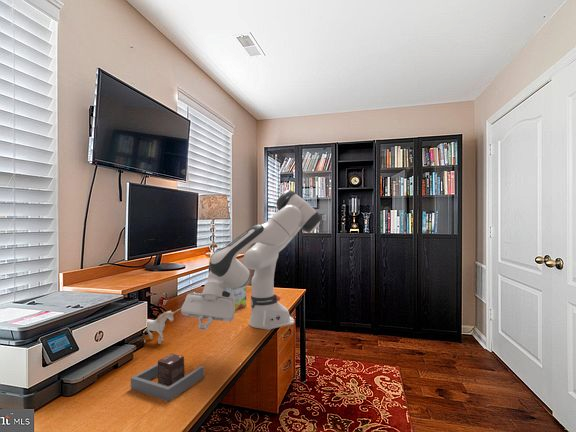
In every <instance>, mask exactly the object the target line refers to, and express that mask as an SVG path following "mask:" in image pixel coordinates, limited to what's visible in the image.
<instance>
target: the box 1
mask: <svg viewBox="0 0 576 432" xmlns="http://www.w3.org/2000/svg"><path fill="white" fill-rule="evenodd" d="M157 364H158V376H157V382H158V384H161V385H165V386H168V387H169V386H171V385H172V384H174V383H175V382H177V381H178V380H180V379H181V378H183V377H185V376H186V374H185V356H183V355H179V354H175V353H170V354H167V355H166V356H165V357H162V358H161V359H158V360H157Z"/></svg>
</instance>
